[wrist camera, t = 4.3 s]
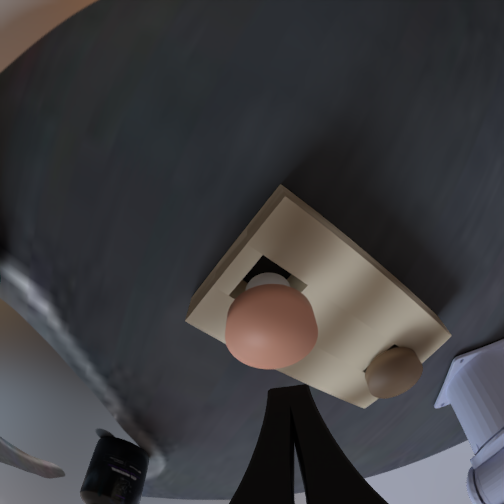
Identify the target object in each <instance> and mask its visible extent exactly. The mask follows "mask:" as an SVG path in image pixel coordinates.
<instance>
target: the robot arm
mask: <svg viewBox="0 0 504 504" xmlns="http://www.w3.org/2000/svg"><path fill="white" fill-rule="evenodd" d="M448 404H451V405H452V407H453V409H454V411H455V413H456V415H457V417H458V419H459V421H460V424H461V426H462V428H463V430H464V432H465V434H466V436H467V439H468V441H469V443H470V445H471V447H472V450H473V452H474V454H475V456H474V457H473V458H472V459H470V461H471V463H472V467H471V468H470V470H469V472H468V477H467V491H468V495H469V498H470V500H471V502H472V504H504V339H502V340H500V341H497V342H495V343H492V344H490V345H487V346H484V347H482V348H479V349H476V350H474V351H471V352H468V353H465V354H462V355H459V356H457V357H455V358H454V359H453V361H452V364H451V366H450V369H449V371H448V374H447V376H446V379H445V381H444V384H443V386H442V389H441V391H440V393H439V396H438V398H437V400H436V402H435V405H434V406H435V408H440V407H443V406H446V405H448ZM294 443H295V447H296V452H297V457H298V462H299V466H300V471H301V476H302V480H303V485H304V490H305V495H306V503H307V504H388V503H387V502H386V501H385V500H384V499H383V498H382V497H381V496H380V495H379V494H378V493H377V492H376V491H375V490H374V489H373V488H372V487H371V486H370V485H369V484H368V483H367V482H366V481H365V479H364V478H363V477H362V476H361V475H360V474H359V472H358V471H357V470H356V469H355V467H354V466H353V465H352V464H351V462H350V461H349V460H348V458H347V457H346V456H345V454H344V453H343V451H342V450H341V448H340V447H339V445H338V444H337V442H336V441H335V439H334V438H333V436H332V434H331V433H330V431H329V429H328V428H327V426H326V424H325V423H324V421H323V419H322V417H321V415H320V413H319V411H318V409H317V407H316V405H315V402H314V400H313V397H312V395H311V392H310V389H309V386H308V385H306V384H304V385H297V386H289V387H281V388H273V389H270V390H269V391H268V399H267V406H266V412H265V416H264V421H263V425H262V428H261V432H260V435H259V438H258V442H257V445H256V447H255V450H254V453H253V455H252V458H251V461H250V463H249V466H248V468H247V470H246V472H245V475H244V477H243V479H242V481H241V483H240V485H239V487H238V489H237V491H236V492H235V494H234V496H233V498H232V499H231V501H230V503H229V504H295V503H294Z"/></svg>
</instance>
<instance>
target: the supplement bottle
mask: <svg viewBox="0 0 504 504" xmlns="http://www.w3.org/2000/svg"><path fill="white" fill-rule="evenodd" d="M148 465H149V457H148V455H147V454H146V452H145V451H144V450H142V449H141V448H140V447H138V446H136V445H134V444H133V443H131V442H128V441H126V440H122V439H120V438H115V437H103V438H101V439H99V441H98V442H97V444H96V447H95V450H94V452H93V455H92V458H91V461H90V464H89V466H88V469H87V472H86V475H85V478H84V481H83V485H82V487H81V491H80V496H81V498H82V500H83V501H84V503H86V504H140V500H141V495H142V491H143V486H144V482H145V478H146V473H147V469H148Z"/></svg>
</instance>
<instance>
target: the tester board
mask: <svg viewBox="0 0 504 504" xmlns="http://www.w3.org/2000/svg"><path fill="white" fill-rule="evenodd" d="M262 255H264V256H265V257H267V258H268V259H270V260H271V261H273V262H274V263H276V264H277V265H279V266H280V267H282V268H283V269H285V270H286V271H288V272H289V273H291V275H290V277H289V278H288V279H287V281H288V282H289V284H290V287H292V288H294V289H296V290H298V291H300V292H301V293H302V294H303V295H304V296H305V297H306V298H307V299H308V300H309V302H310V304H311V306H312V308H313V312H314V315H315V319H316V323H317V327H318V338H317V341H316V344H315V346H314V348H313V349H312V350H311V352H310V353H309V354H308V355H307V356H306V357H304V358H303V359H302V360H300V361H299V362H297V363H295V364H293V365H290V366H287V367H283V368H278V369H276V370H278V371H280V372H282V373H284V374H286V375H288V376H291V377H293V378H295V379H297V380H299V381H301V382H303V383H306V384H308V385H310V386H312V387H314V388H317V389H319V390H321V391H324V392H326V393H328V394H330V395H333V396H335V397H337V398H340V399H342V400H345V401H347V402H349V403H352V404H354V405H357V406H359V407H362V408H364V409H365V408H366V407H367V406H369V405H370V404H372V403H373V402H374V401H376V400H377V399H378V398H376V397H374V396H373V395H371V393H370V391H369V388H368V385H367V382H366V379H365V371H366V369H367V367H368V366H369V364H370V363H371V362H372V361H373V360H374V359H375V358H376V357H377V356H379V355H380V354H382V353H384V352H386V351H387V350H388V349H389V348H390V347H391V346H393V345H394V344H395V345H397V346H398V347H408V348H411V349H412V350H414V351H415V353H416V355H417V357H418V358H419V360H420V362H421V364H422V363H423V362H424V361H425V360H426V359H427V358H429V357H430V356H431V355H432V354H433V353H434V352H435V351H436V350H437V349H438V348H439V347H441V346H442V345H443V344H444V343H445V342H446V341H447V340H448V339H449V338H450V337H451V336H452V335H451V334H450V333H449V331H448V330H447V328H446V327H445V326H444V324H443V323H442V321H441V320H440V319H439V317H438V316H437V315H436V314H435V313H434V312H433V311H432V310H431V309H430V308H429V307H428V306H426V305H425V304H424V303H423V302H422V301H421V300H420V299H419V298H418V297H417V296H416V295H415V294H413V293H412V292H411V291H410V290H409V289H408V288H407V287H406V286H405V285H403V284H402V283H401V282H400V281H399V280H398V279H397V278H396V277H394V276H393V275H392V274H391V273H390V272H389V271H388V270H387V269H385V268H384V267H383V266H382V265H381V264H380V263H378V262H377V261H376V260H375V259H374V258H373V257H371V256H370V255H369V254H368V253H367V252H366V251H364V250H363V249H362V248H361V247H360V246H358V245H357V244H356V243H355V242H354V241H352V240H351V239H350V238H349V237H348V236H346V235H345V234H344V233H343V232H341V231H340V230H339V229H338V228H336V227H335V226H334V225H333V224H332V223H330V222H329V221H328V220H327V219H325V218H324V217H323V216H321V215H320V214H319V213H318V212H316V211H315V210H314V209H313V208H311V207H310V206H309V205H307V204H306V203H305V202H304V201H302V200H301V199H300V198H298V197H297V196H296V195H294V194H293V193H292V192H290V191H289V190H288V189H287V188H285V187H284V186H283V185H281V184H280V185H279V186H278V188H277V189H276V190H275V191H274V193H273V194H272V195H271V196H270V198H269V199H268V200H267V201H266V203H265V204H264V205H263V207H262V208H261V209H260V210H259V212H258V213H257V214H256V215H255V217H254V218H253V219H252V220H251V222H250V223H249V224H248V225H247V227H246V228H245V229H244V231H243V232H242V233H241V234H240V236H239V237H238V238H237V239H236V241H235V242H234V243H233V245H232V246H231V247H230V248H229V250H228V251H227V252H226V254H225V255H224V256H223V257H222V259H221V260H220V261H219V263H218V264H217V265H216V266H215V268H214V269H213V270H212V272H211V273H210V274H209V275H208V277H207V278H206V279H205V281H204V282H203V283H202V285H201V286H200V287H199V288H198V290H197V291H196V292H195V294H194V295H193V296H192V298H191V302H190V305H189V309H188V312H187V316H186V319H185V321H186V322H187V323H189V324H191V325H193V326H194V327H196V328H198V329H200V330H202V331H203V332H205V333H207V334H209V335H210V336H212V337H214V338H216V339H218V340H220V341H221V342H223V343H225V344H226V341H225V330H226V320H227V313H228V310H229V307H230V305H231V304H232V302H233V301H234V300H235V299H236V298H237V297H238V296H239V295H240V294H241V293H243V292H244V291H245V289H246V286H247V284H248V283H247V282H245V281H244V280H242V279H243V278H244V277H245V276H246V274H247V273H248V272H249V271H250V270H251V269H252V267H253V266H254V265H255V264H256V263H257V261H258V260H259V259H260V258H261V257H262Z"/></svg>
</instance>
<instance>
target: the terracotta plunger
mask: <svg viewBox="0 0 504 504" xmlns="http://www.w3.org/2000/svg"><path fill="white" fill-rule="evenodd" d="M317 338H318V327H317V323H316V319H315V315H314V312H313V308H312V306H311V304H310V302H309V300H308V299H307V298H306V297H305V296H304V295H303V294H302V293H301V292H300V291H298V290H296V289H294V288H292V287H290V284H289V282H288V281H287V280H286V279H285V278H284V277H283V276H281V275H279V274H276V273H262V274H259V275H256V276H255V277H253V278H252V279H251V280H250V281H249V282H248V284H247V286H246V289H245V291H244V292H243V293H241V294H240V295H239V296H238V297H237V298H236V299H235V300H234V301H233V302H232V304H231V305H230V307H229V310H228V313H227V320H226V330H225V341H226V345H227V347H228V349H229V351H230V352H231V353H232V355H233V356H234V357H235V358H236V359H238V360H239V361H241V362H242V363H244V364H246V365H249V366H252V367H255V368H260V369H278V368H283V367H287V366H290V365H293V364H295V363H297V362H299V361H300V360H302V359H303V358H304V357H306V356H307V355H308V354H309V353H310V352H311V350H312V349H313V348H314V346H315V344H316V341H317Z"/></svg>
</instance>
